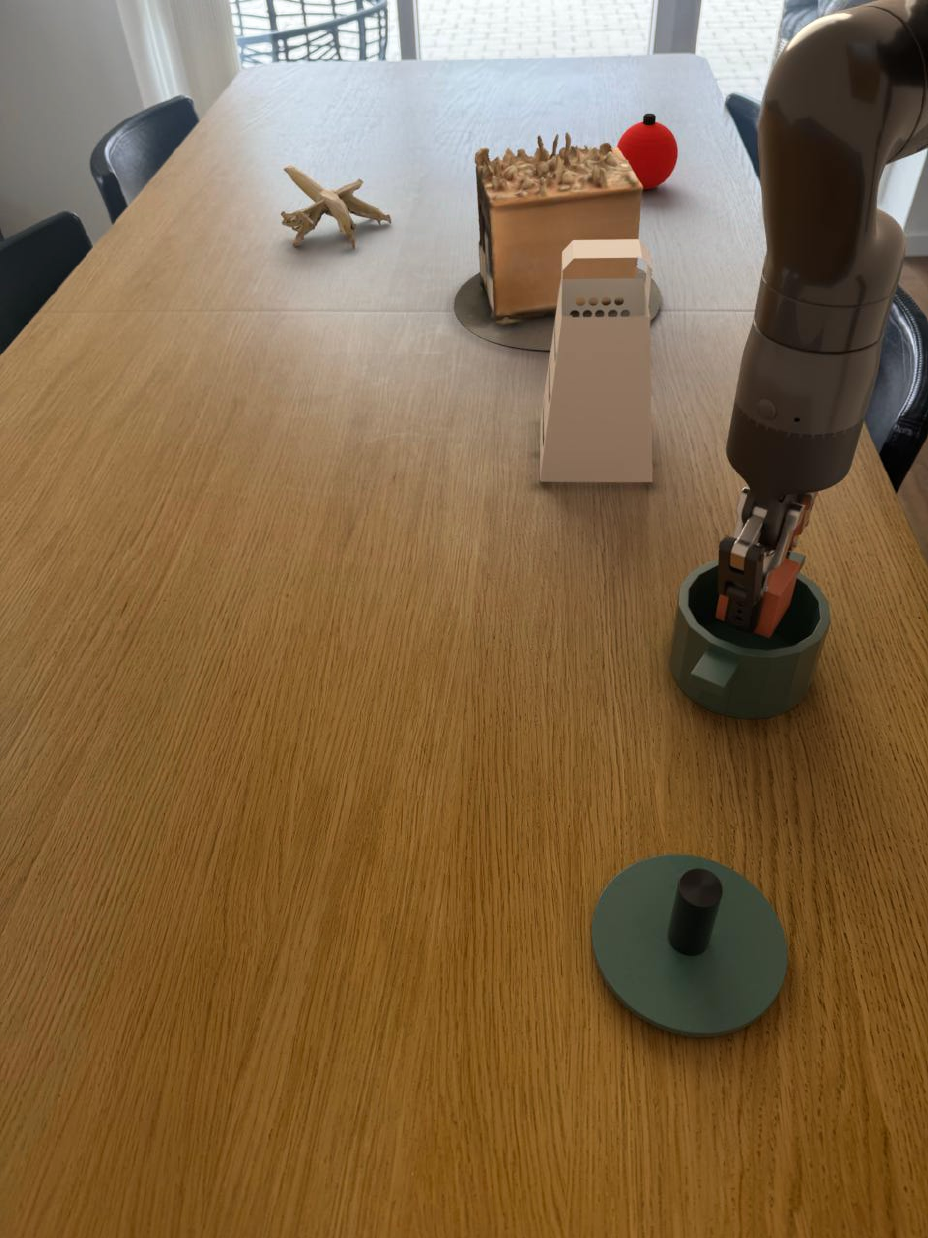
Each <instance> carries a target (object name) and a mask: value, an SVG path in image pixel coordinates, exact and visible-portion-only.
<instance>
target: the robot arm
mask: <svg viewBox="0 0 928 1238" xmlns="http://www.w3.org/2000/svg"><path fill="white" fill-rule="evenodd" d="M760 101H761V102H760V105H759V106H760V107H759V113H758V122H757V150H758V151H757V152H758V166H759V180H760V181H759V182H760V193H761V207H762V219H763V225H764V226H763V227H764V235H765V244H766V251H765V256H764V259H763V265H762V269H761V274H760V280H759V286H758V292H757V297H756V302H755V308H754V314H753V319H752V323H751V327H750V329H749V333H748V336H747V338H746V341H745V344H744V349H743V351H742V355H741V361H740V366H739V372H738V377H737V384H736V389H735V393H734V394H735V395H734V400H733V405H732V406H733V407H732V411H731V418H730V423H729V429H728V434H727V440H726V446H725V455H726V458H727V461H728V463H729V465H730V466H731V468H732V469H733V470H734V471H735V472H736V474H738V476H740V477H741V478H742V480H743V481H744V482H745V483H746V484H747V486H743V488H742V489H741V491H740V494H739V496H738V501H737V504H736V507H735V513H736V515H737V519H736V521H735V526H734V529H733V533H732V536H731V535H728V534H725V535H724V537H723V538H722V539H721V540H720V541H719V544H718V559H719V562H718V594H721V595H724V596H727V597H729V599H728V603H727V608H726V613H725V618H724V621H725V623H726V624H727V625H728V626H731V627H733V628H736V629H738V630H741V631H744V632H746V633H753V632H754V631H755V629H756V627H757V626H758V623H759V619H760V614H761V610H762V606H763V602H764V598H765V594H767V592H768V590H769V583H770V579H771V576H772V573H773V570H775V569H777V568H778V567H779V566H780V565H781V564H782V563H783V561H784V560H785V558H787V559H789V557H790V553H791V552H792V551H793V552H794V550H795V549H796V548H797V547H798V545H799V542H800V541H799V536H800V535H802V534H803V532H804V530H805V529H806V528H807V527H808V526H809V523H810V517H811V513H812V510H813V507H814V504H815V501H816V499H817V496H818V494H819V492H822V491H824V490H827V489H829V488H832V487H834V486H836V485H837V484H839V483H840V482H841V481H843V480H844V479H845V478H846V476H848V474H849V472H850V470H851V468H852V464H853V461H854V457H855V453H856V450H857V447H858V444H859V440H860V436H861V433H862V430H863V426H864V422H865V419H866V416H867V413H868V409H869V405H870V401H871V398H872V396H873V391H874V388H875V384H876V381H877V377H878V373H879V368H880V364H881V363H880V361H881V355H882V354H881V353H882V346H883V341H884V335H885V332H886V328H887V325H888V321H889V317H890V314H891V311H892V307H893V304H894V301H895V297H896V293H897V291H898V290H897V289H898V286H899V283H900V278H901V275H902V270H903V266H904V263H905V257H906V236H905V235H906V234H905V232H904V230H903V228H902V226H901V224H900V223H899V222H898V221H897V220H896V218H894V216H892V215H891V214H889V213H888V212H886V211H884V210H882V209H880V208H878V197H879V196H878V194H879V187H880V182H881V179H882V176H883V173H884V171H885V167H886V166H887V165H890V164H892V163H895V162H897V161H900V160H902V159H905V158H907V157H910V156H913V155H915V154H918V153H919V152H922V151H925V150H927V149H928V0H874V1H870V2H867V3H863V4H861V5H857V6H853V7H849V8H845V9H841V10H838V11H834V12H832V13H831V12H830V13H827V14H825V15H822V16H820V17H818V18H816V19H814V20H812V21H811V22H809V23H808V24H806V25H804V26H803V27H802V28H800V29H799V30H798V31H797V32H796V33H795V34H794V35H793V36H792V38H790V39H789V41H788V42H787V43H786V44H785V46H783V48H782V50H781V52H780V54H779V55H778V57H777V59H776V61H775V62H774V65H773V67H772V69H771V71H770V73H769V76H768V78H767V81H766V84H765V87H764V91H763V94H762V97H761V100H760ZM789 551H791V552H789Z"/></svg>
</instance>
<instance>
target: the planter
mask: <svg viewBox="0 0 928 1238" xmlns="http://www.w3.org/2000/svg"><path fill="white" fill-rule="evenodd" d="M564 137H565V138H564V139H565V147H564V146H562V147H561V148H560V149H559V150H558V153H557V147H558V142H559V134H558V133H556V134H555V136H554V139H553V141H552V146H551V147H552V148H551V150H552V151H551V154H550V152H549V151H548V149H546V148H545V147H544V142H543V139H542V137H541V135H538V136H537V145H538V147H536V148H535V149H536V150H535V152H534V155H533V156H531V155H528V154H527V153H526V150H525V149H524V148H518V150H517V151H516V152H517V154H515V152H513V150H512V149H511V148H510V147H509V146H508V147H507V148H506V151H505V153H504V155H503V157H502V159H501V158H500V156H498V155H497V156H496V157H495V158H494V159H493V160H491V159H490V154H489V152H490V149H489V148H488V147H482V148H479V149H478V150H477V151H476V152H475V154H474V163H475V180H476V196H477V212H478V213H477V214H478V231H479V232H478V233H479V240H478V260H479V261H478V262H479V264H478V265H479V272H477V273H476V274H475V275H473V276H472V277H470V278H469V279H468V280H467V281H465V282H464V283H463V284H462V286H460V288H459V290H458V291H457V292H456V294H455V298H454V301H453V308H454V313H455V316H456V317H457V319H458V321H459V322H460V323H461V324H462V325H463V326H464V327H465V328H466V329H467V330H468V331H470V332H471V333H473V334H474V335H476V336H478V337H480V338H482V339H484V340H486V341H489V342H492V343H494V344H498V345H502V346H506V347H511V348H516V349H524V350H533V351H551V344H552V337H553V330H554V323H555V316H556V309H557V302H558V295H559V288H560V281H561V272H562V252H563V250H564V249H565V248H566V247H567V246H568V245H569V244H570V243H571V242H572V241H573V240H620V239H639V240H640V224H641V223H640V221H641V209H642V208H641V206H642V194H643V190H644V189H643V186H642V184H641V183H640V181H639V180H638V178H637V176H636V175H635V173H634V171H633V169H632V167H631V165H630V164H629V161H628V160H626V159H625V157H624V156H623V154H622V152H621V151H620V150H619V148H618V147H617V146H616V147H615V146H614V147H613V146H612V145H611V144H610V143H609V142H603V143H601V144H600V145H599V148H598V147H597V146H590V147H588V144H583V147H584V148H581V147H578V145H577V144H576V145H575V146H574V145H572V137H571V135H570V134H569V132H565V135H564ZM619 278H644V284H645V283H646V271H644V270H642V269H641V268H639V267H638V258H574V259H573V260H572V261H571V262H570V263H569V264H568V265H567V266H566V267H565V268H564V270H563V276H562V279H619ZM588 302H589V304H590V305H591V306H594V305H596V304H597V303H598V299H597V298H596V297H592V298H590V299H589V301H588ZM601 302H602V304H603V305H605V306H607V305H609V304H610V303H611V299H610V298H609V297H604V298H603V299H602V301H601ZM623 302H624V299H623V298H622V297H617V298H616V299H615V300H614V303H615V304H616V305H618V306H619V305H622V304H623ZM661 303H662V294H661V290H660V287H659V285H658V284H657V283H656V281H655V280H654V279H653V278H652V277H651V284H650V294H649V305H648V308H649V314H650V322H651V321H652V320H653V319H654V318H655V316H656V315H657V314H658V312H659V311H660V307H661ZM576 304H577V305H578V306H582V305H584V304H585V299H584V298H582V297H579V298H577V299H576ZM617 314H618V313H617V311H616V310H610V311H609V312H608V316H609V317H616V316H617ZM570 315H573V316H572V317H579V315H580V314H579V312H578V311H577V310H573V311H572V312H571V313H570ZM582 315H583V317H591V316H592V312H591V311H590V310H585V311H584V312H583V314H582ZM595 316H596V317H604V311H603V310H597V311H596V313H595ZM629 316H630V311H628V310H623V311H622V312H621V317H629Z"/></svg>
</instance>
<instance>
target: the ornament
mask: <svg viewBox="0 0 928 1238" xmlns="http://www.w3.org/2000/svg"><path fill="white" fill-rule="evenodd" d="M656 117H657V116H656V115H655V114H654V113H645V114H644V115H643V117H642V121H639V122H637V123H635V124H632V125H631V126H630V127H628V128H627V129H626V130H625V131H624V132H623V134H622V135H621V136H620V138H619V140H618V142H617V145H616V147H618V148H619V150H620V151H621V152H622V154H623V156H624V157H625V159H626V160H628V161H629V164H630V165H631V167H632V169H633V171H634V173H635V175H636V176H637V178H638V180H639V181H640V183H641V184H642V186H643V190H650V189H655V188H657V187H659V186H660V185H662V184H663V183H665V182H666V181H667V180H668V179H669V178H670V177H671V176H672V174H673V172H674V170H675V168H676V166H677V161H678V158H679V157H678V156H679V149H678V148H679V147H678V143H677V140H676V137H675V135H674V134H673V132H672V131H671V130H670V129H669V128H668V127H667V126H666V125H664V124H663V123H661V122H659V121H657V120H656V119H657V118H656Z"/></svg>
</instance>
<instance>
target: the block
mask: <svg viewBox="0 0 928 1238" xmlns="http://www.w3.org/2000/svg"><path fill="white" fill-rule="evenodd" d="M799 567H800V563H799V562H796V561H793V560H790V559H787V558H785V560H784V561H783V563H782V564H781V565H780V566H779V567H778V568H777V569H775V570H773V573H772V576H771V579H770V583H769V590H768V592H767V594H765V598H764V602H763V606H762V610H761V614H760V619H759V623H758V626H757V627H756V629H755V631H754V633H757V634H759V635H762V636H765V637H767V638H770V636H771V635H772V633H773V632H774V630H775V628H776V627H777V625H778V623H779V622H780V620H781V618H782V617H783V615H784V613H785V612H786V610H787V608H788V607H789V605H790V602H791V598H792V594H793V590H794V586H795V583H796V579H797V575H798V571H799ZM728 599H729V597H727V596H724V595H721V594H720V597H719V602H718V607H717V612H716V618H717V619H720V620H722V621H724V618H725V613H726V608H727V603H728Z"/></svg>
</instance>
